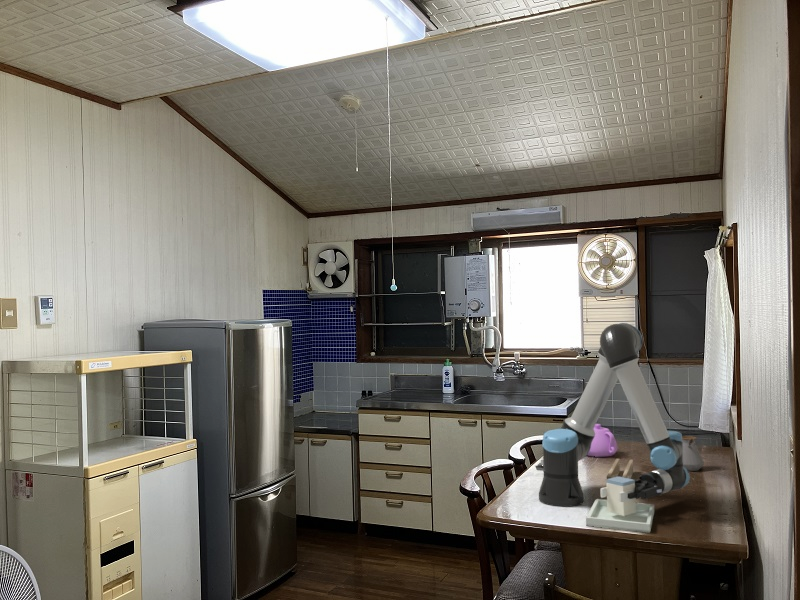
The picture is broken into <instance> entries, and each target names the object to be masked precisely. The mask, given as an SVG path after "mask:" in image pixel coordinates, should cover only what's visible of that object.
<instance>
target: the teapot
mask: <svg viewBox="0 0 800 600" xmlns="http://www.w3.org/2000/svg"><path fill="white" fill-rule="evenodd" d="M594 431H595V436H594V438H593V441H592V443H591V448H590V451H589V453H588V454H587V455H586V456H589V457H594V456H595V457H594V458H602V457H612V456H614V455H615V454H616V453H617V451H618V443H617V441H616V438H615V436H614V434H613V433H612V432H611V430H610V429H609V428H608V427H607V428H606V427H602V424H600V423H596V424H595V426H594Z"/></svg>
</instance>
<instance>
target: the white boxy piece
mask: <svg viewBox="0 0 800 600" xmlns="http://www.w3.org/2000/svg"><path fill="white" fill-rule="evenodd" d="M635 480H636V479H633V478H631V479H628V478H623V477H622V476H619V475H618V476H617V477H614V478H610V479H607V478H606V487H607V497H606V500H607V512H611V513H614V514H618V515H622V516H626V515H629V514H632V513H635V512H636V508H635V503H636V498H634V499H631V500H627V501H624V502H619V493H620V492H624V491H627V490H631V489H633V490H634V492H635Z"/></svg>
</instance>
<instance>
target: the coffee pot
mask: <svg viewBox="0 0 800 600" xmlns="http://www.w3.org/2000/svg"><path fill="white" fill-rule="evenodd" d="M696 440H697V437H696V436H692V435H682V441H683V467H685V468H686V469H687V471H688V472H698V471H699V470H700V469H702V468H703V467H704V463H705V461H704V459H703V457H702V455H701V453H700V451H699V448H698V447H697V445H696Z"/></svg>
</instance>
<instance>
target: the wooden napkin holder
mask: <svg viewBox="0 0 800 600" xmlns="http://www.w3.org/2000/svg"><path fill="white" fill-rule="evenodd" d="M628 460H629V461H628V462H627V465H626V467H625V469H624V472H623V474H622V476H621V477H623V478H628V479H632V477H633V474H634V460H633V459H628ZM620 466H621V465H620V458H615V460H614V462H613V464H612V466H611V467H610V469H609V471H608V473H607V475H606V479H610V478H614V477H618V476H619V474H618V473H620V472H619V471H620V470H621V469H620Z"/></svg>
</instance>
